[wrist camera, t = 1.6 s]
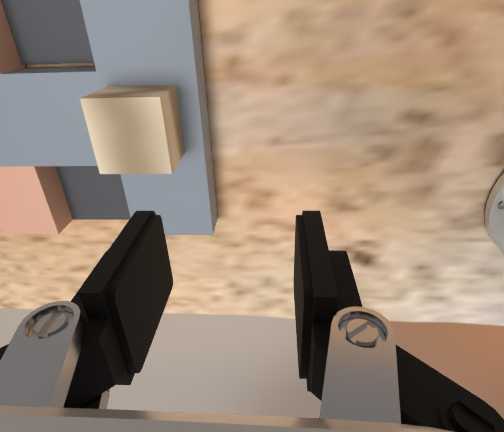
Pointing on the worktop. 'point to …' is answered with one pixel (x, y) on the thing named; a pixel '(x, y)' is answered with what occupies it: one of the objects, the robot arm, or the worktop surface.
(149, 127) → the maple block
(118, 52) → the trap board
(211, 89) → the worktop surface
